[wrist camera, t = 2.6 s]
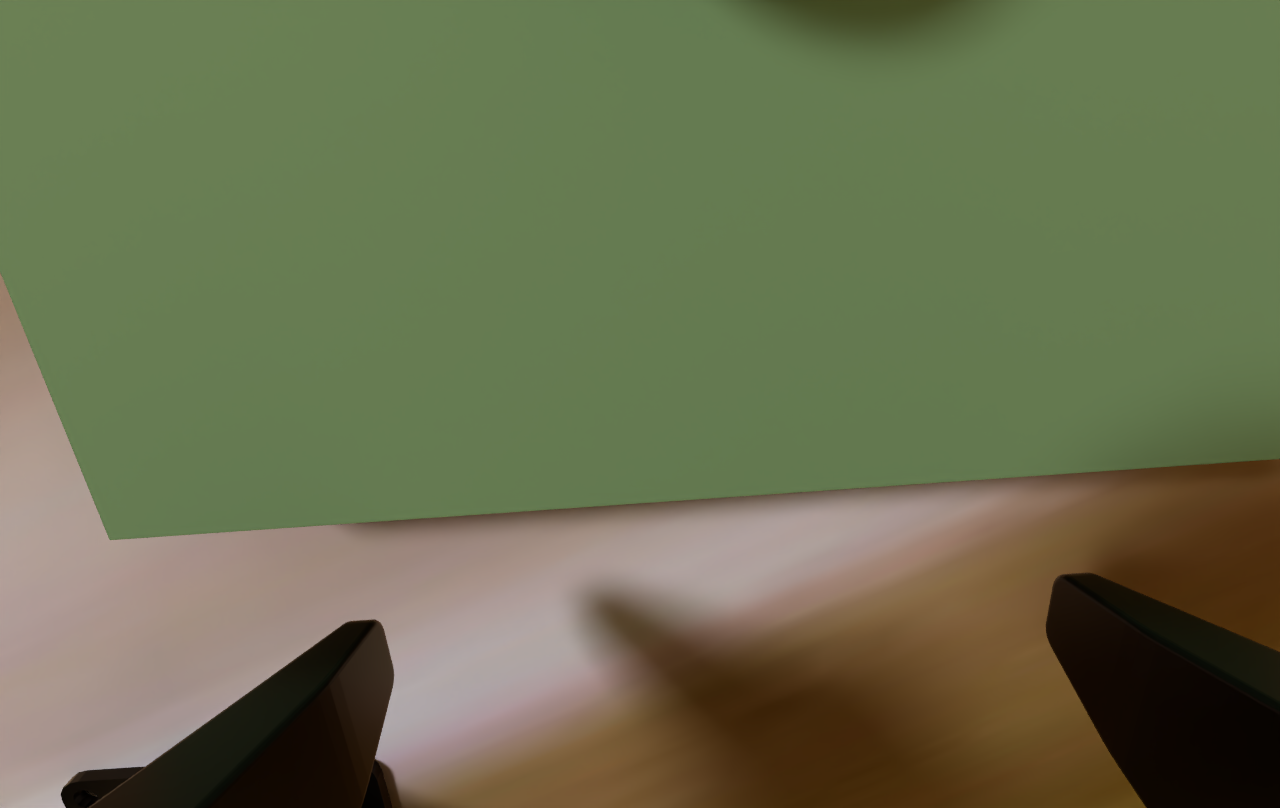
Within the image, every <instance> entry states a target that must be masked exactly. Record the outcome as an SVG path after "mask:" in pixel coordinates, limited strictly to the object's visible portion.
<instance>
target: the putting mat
mask: <svg viewBox="0 0 1280 808" xmlns="http://www.w3.org/2000/svg"><path fill="white" fill-rule="evenodd" d="M0 272H1V275H2V277H3V280H4V282H5V285H6V287H7V290H8V292H9V295H10V297H11V299H12V302H13V304H14V307H15V309H16V312H17V314H18V317H19V319H20V321H21V324H22V326H23V329H24V331H25V334H26V336H27V339H28V341H29V343H30V346H31V348H32V351H33V353H34V356H35V358H36V361H37V363H38V366H39V368H40V370H41V373H42V375H43V378H44V380H45V383H46V385H47V388H48V390H49V392H50V395H51V397H52V400H53V402H54V405H55V407H56V410H57V412H58V415H59V417H60V419H61V422H62V424H63V427H64V429H65V432H66V434H67V437H68V439H69V441H70V444H71V446H72V449H73V451H74V454H75V456H76V459H77V461H78V464H79V466H80V468H81V471H82V473H83V476H84V478H85V481H86V483H87V486H88V488H89V490H90V493H91V495H92V498H93V500H94V503H95V505H96V508H97V510H98V512H99V515H100V517H101V520H102V522H103V525H104V527H105V530H106V532H107V535H108V537H109V539H110V540H119V539H133V538H148V537H162V536H176V535H191V534H205V533H220V532H234V531H248V530H263V529H277V528H292V527H306V526H320V525H335V524H349V523H364V522H378V521H392V520H407V519H421V518H436V517H450V516H465V515H479V514H493V513H508V512H522V511H537V510H551V509H565V508H580V507H594V506H609V505H623V504H637V503H652V502H666V501H681V500H695V499H709V498H724V497H738V496H753V495H767V494H781V493H796V492H810V491H825V490H839V489H853V488H868V487H882V486H897V485H911V484H926V483H940V482H954V481H969V480H983V479H998V478H1012V477H1026V476H1041V475H1055V474H1070V473H1084V472H1098V471H1113V470H1127V469H1142V468H1156V467H1170V466H1185V465H1199V464H1214V463H1228V462H1242V461H1257V460H1271V459H1280V0H0Z"/></svg>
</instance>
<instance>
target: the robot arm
mask: <svg viewBox="0 0 1280 808" xmlns="http://www.w3.org/2000/svg"><path fill="white" fill-rule="evenodd" d="M1046 633H1047V638H1048V641H1049V643H1050V645H1051V647H1052V649H1053V651H1054V653H1055V655H1056V657H1057V658H1058V660H1059V662H1060V664H1061V666H1062V668H1063V669H1064V671H1065V673H1066V675H1067V677H1068V678H1069V680H1070V682H1071V684H1072V686H1073V688H1074V689H1075V691H1076V693H1077V695H1078V697H1079V699H1080V700H1081V702H1082V704H1083V706H1084V708H1085V710H1086V711H1087V713H1088V715H1089V717H1090V719H1091V720H1092V722H1093V724H1094V726H1095V728H1096V730H1097V731H1098V733H1099V735H1100V737H1101V738H1102V740H1103V742H1104V744H1105V745H1106V747H1107V749H1108V750H1109V752H1110V754H1111V755H1112V757H1113V758H1114V760H1115V761H1116V763H1117V765H1118V766H1119V768H1120V769H1121V771H1122V772H1123V774H1124V775H1125V777H1126V778H1127V780H1128V781H1129V783H1130V784H1131V786H1132V787H1133V789H1134V790H1135V792H1136V793H1137V795H1138V796H1139V798H1140V799H1141V800H1142V802H1143V803H1144V805H1145V806H1146V808H1280V652H1278V651H1276V650H1274V649H1271V648H1269V647H1267V646H1264V645H1262V644H1259V643H1257V642H1255V641H1252V640H1250V639H1248V638H1245V637H1243V636H1240V635H1238V634H1236V633H1233V632H1231V631H1229V630H1226V629H1224V628H1222V627H1219V626H1217V625H1214V624H1212V623H1210V622H1207V621H1205V620H1203V619H1200V618H1198V617H1195V616H1193V615H1191V614H1188V613H1186V612H1184V611H1181V610H1179V609H1176V608H1174V607H1172V606H1169V605H1167V604H1165V603H1162V602H1160V601H1158V600H1155V599H1153V598H1150V597H1148V596H1146V595H1143V594H1141V593H1139V592H1136V591H1134V590H1131V589H1129V588H1127V587H1124V586H1122V585H1120V584H1117V583H1115V582H1113V581H1110V580H1108V579H1105V578H1103V577H1101V576H1098V575H1096V574H1093V573H1075V574H1063V575H1060V576H1058V577H1057V578H1056V580H1055V581H1054V584H1053V588H1052V594H1051V599H1050V605H1049V610H1048V616H1047V621H1046ZM393 682H394V669H393V664H392V660H391V656H390V652H389V648H388V644H387V640H386V636H385V632H384V629H383V626H382V624H381V623H380V622H379V621H377V620H359V621H349V622H347V623H345V624H343V625H342V626H340V627H339V628H338V629H336V630H335V631H333V632H332V633H331V634H329V635H328V636H327V637H325V638H324V639H322V640H321V641H320V642H318V643H317V644H315V645H314V646H313V647H311V648H310V649H308V650H307V651H306V652H304V653H303V654H302V655H300V656H299V657H297V658H296V659H295V660H293V661H292V662H290V663H289V664H288V665H286V666H285V667H283V668H282V669H281V670H279V671H278V672H277V673H275V674H274V675H272V676H271V677H270V678H268V679H267V680H265V681H264V682H263V683H261V684H260V685H258V686H257V687H256V688H254V689H253V690H252V691H250V692H249V693H247V694H246V695H245V696H243V697H242V698H240V699H239V700H238V701H236V702H235V703H233V704H232V705H231V706H229V707H228V708H226V709H225V710H224V711H222V712H221V713H220V714H218V715H217V716H215V717H214V718H213V719H211V720H210V721H208V722H207V723H206V724H204V725H203V726H201V727H200V728H199V729H197V730H196V731H194V732H193V733H192V734H190V735H189V736H188V737H186V738H185V739H183V740H182V741H181V742H179V743H178V744H176V745H175V746H174V747H172V748H171V749H169V750H168V751H167V752H165V753H164V754H162V755H161V756H160V757H158V758H157V759H155V760H154V761H153V762H151V763H150V764H149V765H147V766H146V767H132V768H117V769H102V770H87V771H83V772H79V773H77V774H76V775H75V776H73V777H72V779H71V780H70V781H69V782H68V783H67V784H66V785H65V786H64V787H63V789H62V792H61V797H62V801H63V803H64V805H65V807H66V808H392V805H391V801H390V797H389V794H388V790H387V787H386V783H385V780H384V776H383V772H382V769H381V767H380V766H379V764H378V762H376V761H375V760H374V759H375V755H376V751H377V748H378V744H379V740H380V736H381V732H382V728H383V724H384V720H385V716H386V712H387V708H388V704H389V700H390V696H391V692H392V688H393ZM86 791H90V792H92V793H94V794H95V795H96V796H97V797H95V796H92V795H90V794H88V793H87V792H86Z"/></svg>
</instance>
